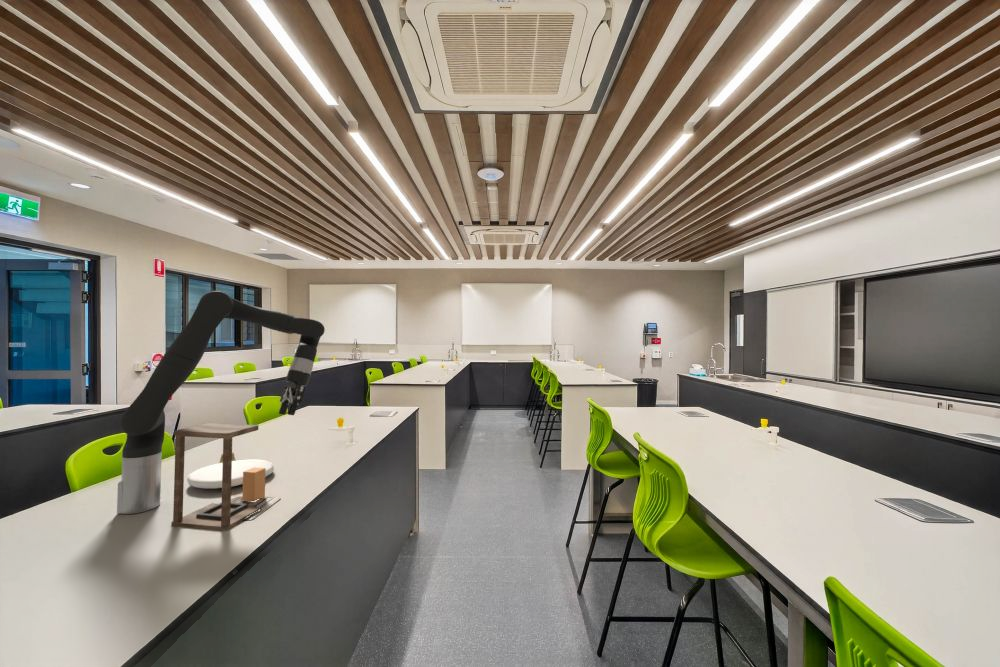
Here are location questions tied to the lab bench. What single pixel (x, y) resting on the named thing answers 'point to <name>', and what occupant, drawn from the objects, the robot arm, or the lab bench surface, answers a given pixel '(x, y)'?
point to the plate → (213, 473)
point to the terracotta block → (253, 484)
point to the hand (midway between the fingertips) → (286, 414)
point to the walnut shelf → (225, 511)
